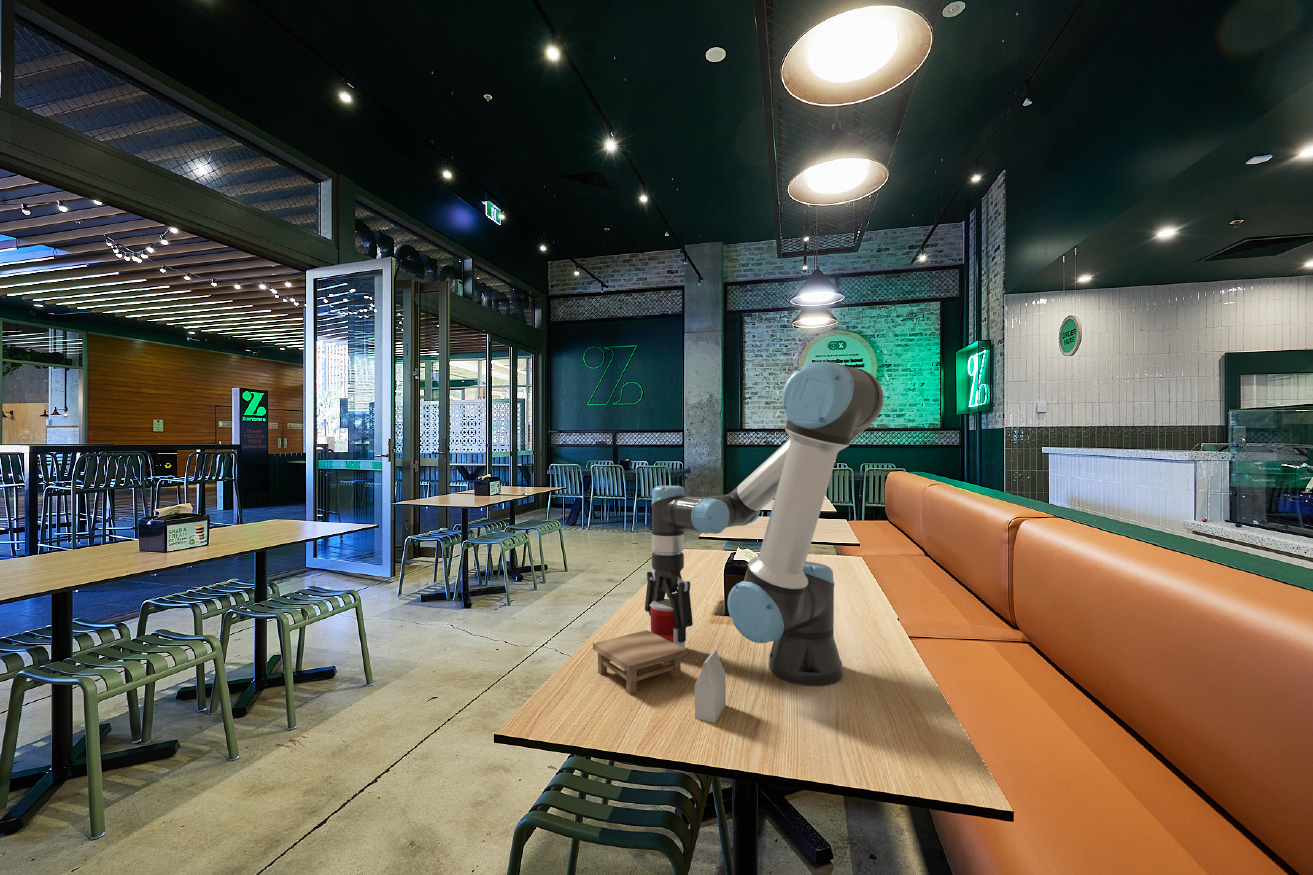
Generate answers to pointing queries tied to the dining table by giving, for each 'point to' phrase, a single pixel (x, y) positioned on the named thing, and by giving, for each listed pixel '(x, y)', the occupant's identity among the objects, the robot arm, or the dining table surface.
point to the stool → (639, 656)
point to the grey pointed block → (710, 690)
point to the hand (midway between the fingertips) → (667, 649)
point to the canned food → (662, 619)
